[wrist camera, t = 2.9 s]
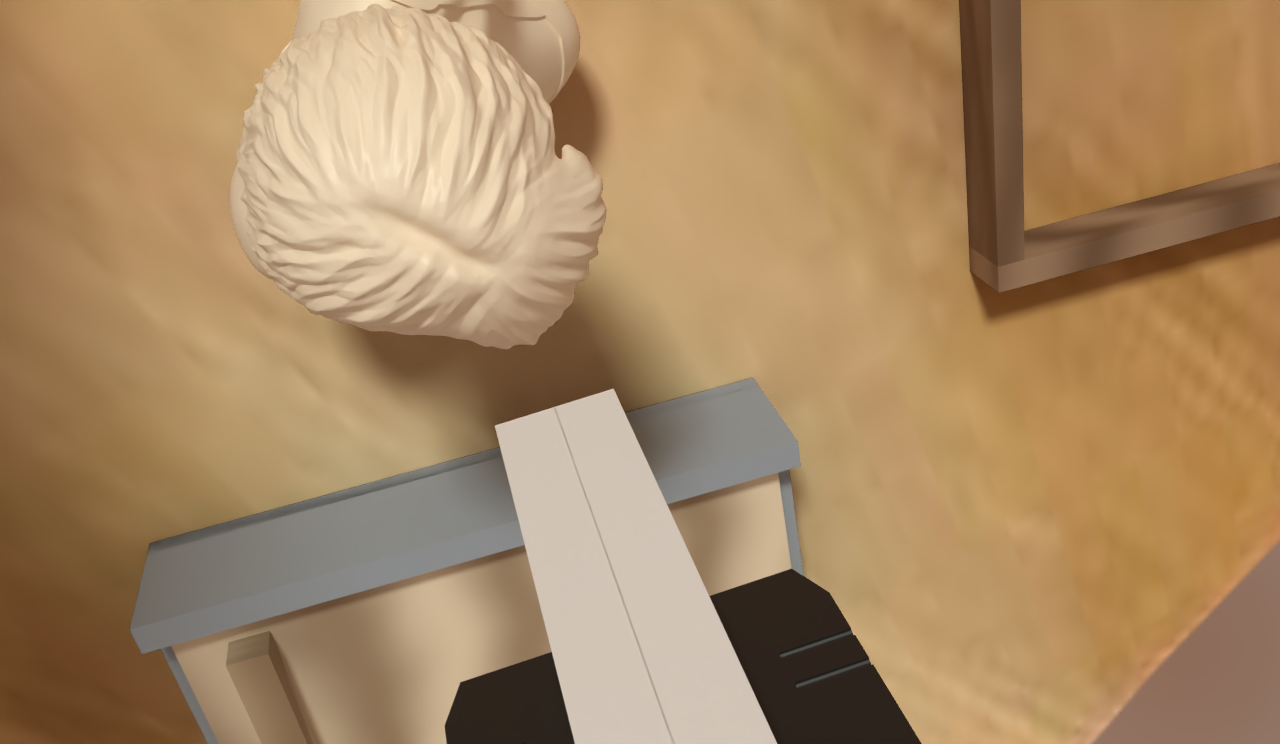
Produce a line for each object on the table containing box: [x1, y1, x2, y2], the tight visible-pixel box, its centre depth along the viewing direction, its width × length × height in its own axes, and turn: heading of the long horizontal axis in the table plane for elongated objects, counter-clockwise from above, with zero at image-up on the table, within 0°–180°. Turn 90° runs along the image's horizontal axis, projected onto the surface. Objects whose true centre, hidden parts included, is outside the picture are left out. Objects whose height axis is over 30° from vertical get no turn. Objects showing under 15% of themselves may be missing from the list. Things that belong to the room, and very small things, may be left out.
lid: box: [171, 473, 792, 744], centre depth 49 cm, size 25×12×2 cm, turn 100°
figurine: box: [230, 0, 606, 349], centre depth 33 cm, size 14×9×20 cm
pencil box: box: [130, 378, 803, 744], centre depth 51 cm, size 26×15×6 cm, turn 100°
